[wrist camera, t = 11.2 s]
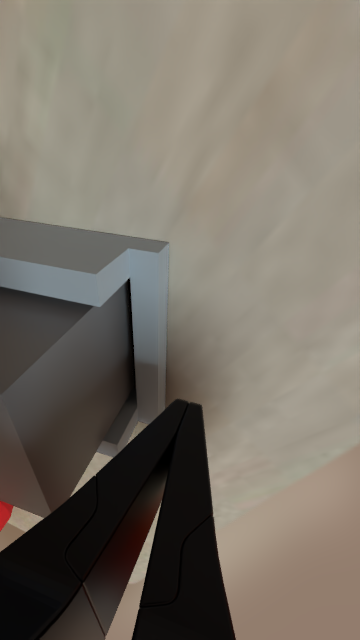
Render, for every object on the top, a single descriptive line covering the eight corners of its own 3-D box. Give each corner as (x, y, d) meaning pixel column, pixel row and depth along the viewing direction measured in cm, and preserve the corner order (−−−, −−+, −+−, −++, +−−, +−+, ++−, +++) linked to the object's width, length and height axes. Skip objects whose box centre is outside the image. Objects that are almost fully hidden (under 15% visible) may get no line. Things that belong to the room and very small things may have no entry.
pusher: (127, 274, 11) (0, 394, 6) (134, 386, 14) (55, 522, 9) (12, 254, 12) (-173, 342, 7) (43, 362, 15) (-70, 473, 10)
